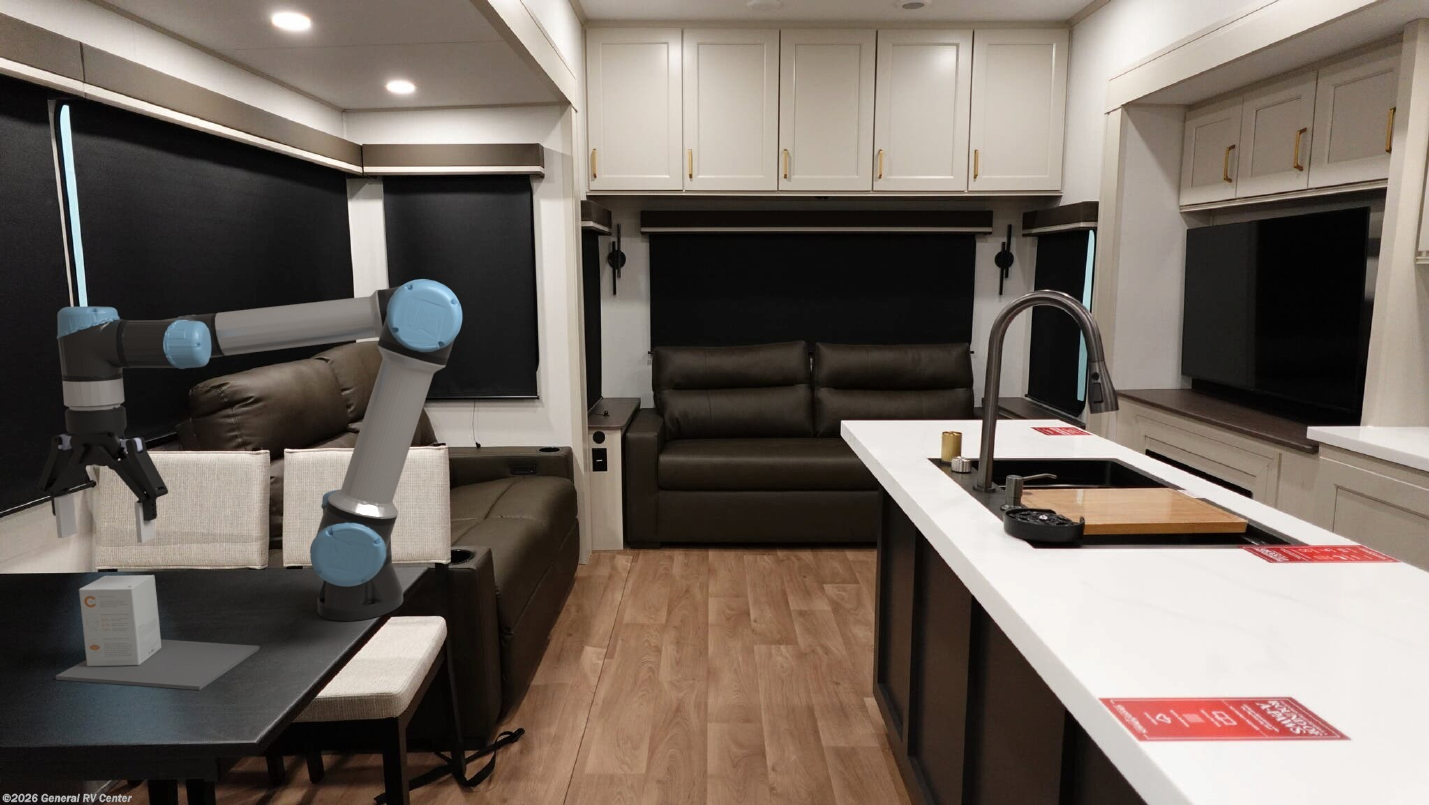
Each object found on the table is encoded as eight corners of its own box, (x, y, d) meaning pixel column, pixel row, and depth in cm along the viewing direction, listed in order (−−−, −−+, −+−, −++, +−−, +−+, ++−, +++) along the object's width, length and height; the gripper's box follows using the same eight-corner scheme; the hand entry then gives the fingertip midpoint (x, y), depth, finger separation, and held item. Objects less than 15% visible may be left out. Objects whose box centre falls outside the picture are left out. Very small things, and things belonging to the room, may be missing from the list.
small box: (162, 648, 136) (156, 574, 134) (139, 666, 130) (131, 588, 128) (111, 649, 135) (104, 574, 133) (85, 667, 129) (77, 589, 127)
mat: (259, 649, 138) (259, 646, 138) (199, 690, 124) (199, 686, 124) (129, 640, 140) (128, 637, 140) (56, 679, 126) (55, 676, 126)
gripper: (187, 405, 129) (197, 534, 132) (43, 399, 131) (55, 526, 134) (151, 413, 122) (161, 549, 125) (-2, 406, 124) (12, 540, 127)
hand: (106, 537), depth 130 cm, fingers open, 13 cm apart
